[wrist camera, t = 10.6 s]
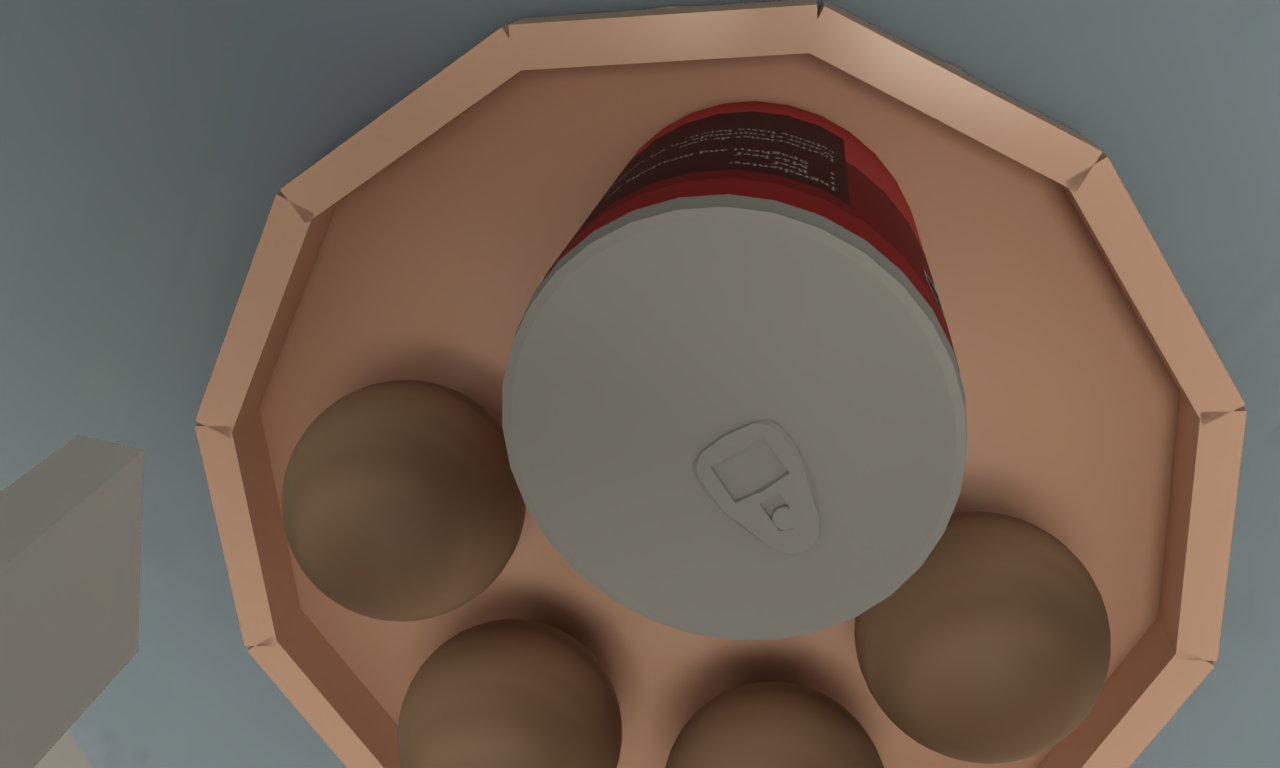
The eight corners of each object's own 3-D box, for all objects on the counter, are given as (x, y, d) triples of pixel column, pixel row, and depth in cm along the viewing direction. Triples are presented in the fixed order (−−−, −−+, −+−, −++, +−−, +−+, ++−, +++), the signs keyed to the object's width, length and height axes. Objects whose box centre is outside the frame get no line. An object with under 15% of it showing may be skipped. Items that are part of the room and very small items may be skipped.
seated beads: (242, 446, 34) (131, 553, 28) (800, 84, 28) (796, 130, 23) (608, 896, 38) (572, 1064, 33) (1156, 661, 33) (1224, 817, 27)
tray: (70, 349, 34) (16, 381, 32) (876, -239, 26) (881, -251, 24) (590, 971, 41) (576, 1036, 38) (1372, 652, 32) (1414, 709, 30)
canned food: (776, 460, 32) (757, 722, 22) (539, 265, 31) (403, 445, 21) (990, 248, 29) (1083, 435, 19) (739, 24, 28) (693, 98, 18)
